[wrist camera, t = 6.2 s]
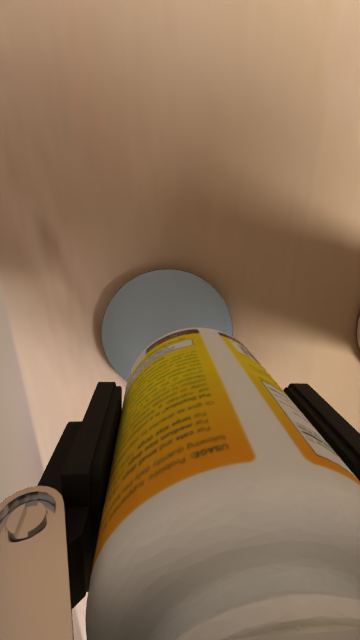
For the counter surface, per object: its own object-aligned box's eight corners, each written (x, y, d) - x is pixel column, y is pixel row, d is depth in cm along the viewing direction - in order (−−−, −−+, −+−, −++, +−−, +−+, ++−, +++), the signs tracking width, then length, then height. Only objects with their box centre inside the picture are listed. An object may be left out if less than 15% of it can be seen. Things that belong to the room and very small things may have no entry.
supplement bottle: (115, 428, 13) (-27, 1105, 3) (144, 309, 11) (61, 799, 1) (234, 448, 13) (453, 1025, 4) (274, 339, 12) (800, 783, 2)
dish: (250, 350, 28) (254, 355, 27) (147, 407, 29) (146, 414, 28) (191, 243, 25) (193, 243, 24) (78, 310, 26) (74, 314, 25)
